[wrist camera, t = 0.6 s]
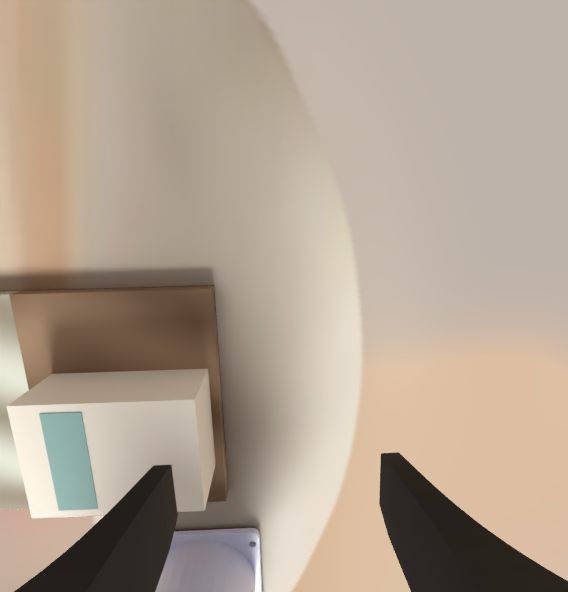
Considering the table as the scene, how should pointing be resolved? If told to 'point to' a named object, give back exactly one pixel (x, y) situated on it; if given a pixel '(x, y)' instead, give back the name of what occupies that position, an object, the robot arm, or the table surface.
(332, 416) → the table surface
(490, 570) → the robot arm
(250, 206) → the table surface
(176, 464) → the carton
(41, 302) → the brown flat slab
